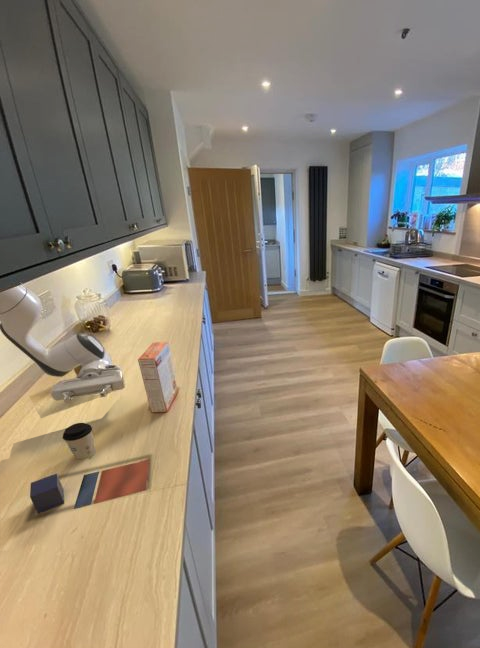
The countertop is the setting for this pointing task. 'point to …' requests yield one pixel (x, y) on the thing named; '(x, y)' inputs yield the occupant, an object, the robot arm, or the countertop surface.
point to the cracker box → (158, 376)
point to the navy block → (47, 493)
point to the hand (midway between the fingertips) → (85, 398)
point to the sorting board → (113, 483)
